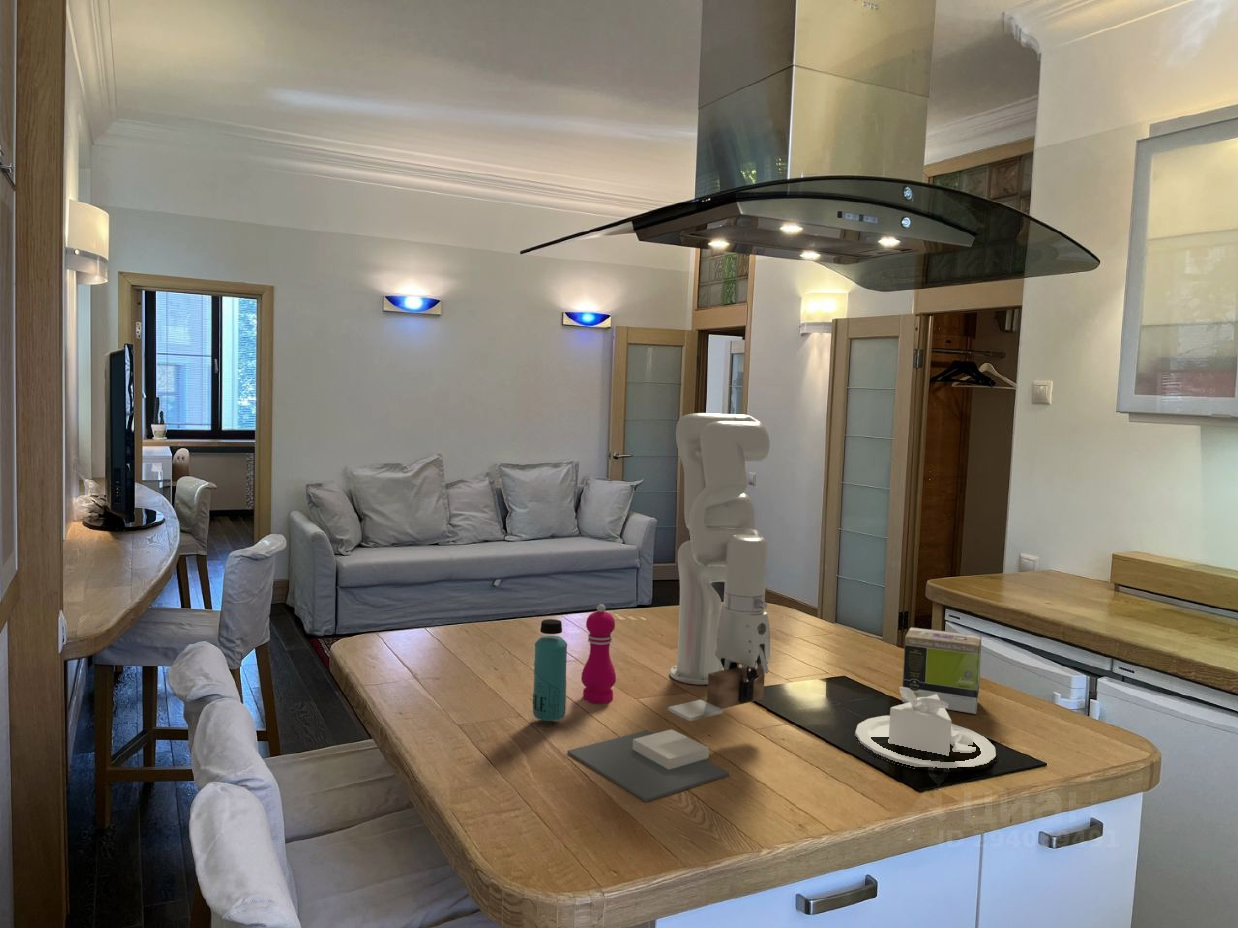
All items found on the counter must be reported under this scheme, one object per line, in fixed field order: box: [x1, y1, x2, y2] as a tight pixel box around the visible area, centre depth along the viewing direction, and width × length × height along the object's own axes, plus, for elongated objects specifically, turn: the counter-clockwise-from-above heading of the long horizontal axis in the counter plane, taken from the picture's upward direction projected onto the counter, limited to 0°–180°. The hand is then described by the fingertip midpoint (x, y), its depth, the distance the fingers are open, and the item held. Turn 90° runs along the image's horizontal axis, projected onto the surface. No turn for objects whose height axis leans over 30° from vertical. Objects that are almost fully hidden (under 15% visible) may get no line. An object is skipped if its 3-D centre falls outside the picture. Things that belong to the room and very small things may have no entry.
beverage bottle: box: [532, 618, 568, 722], centre depth 166 cm, size 6×7×20 cm
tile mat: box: [567, 729, 730, 803], centre depth 149 cm, size 18×22×1 cm
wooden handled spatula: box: [667, 665, 766, 722], centre depth 159 cm, size 20×6×6 cm, turn 127°
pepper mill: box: [581, 603, 617, 704], centre depth 180 cm, size 7×7×20 cm
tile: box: [633, 728, 710, 770], centre depth 152 cm, size 2×10×9 cm
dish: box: [854, 686, 997, 769], centre depth 162 cm, size 25×25×11 cm
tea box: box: [901, 626, 982, 715], centre depth 186 cm, size 15×10×15 cm, turn 65°
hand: (739, 697), depth 162 cm, fingers closed on wooden handled spatula, 2 cm apart
